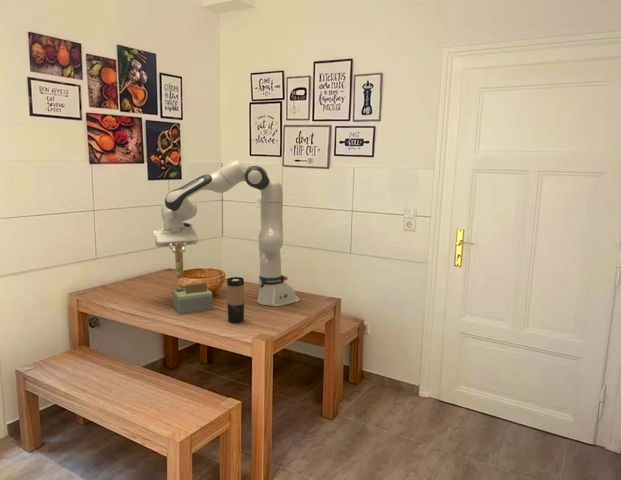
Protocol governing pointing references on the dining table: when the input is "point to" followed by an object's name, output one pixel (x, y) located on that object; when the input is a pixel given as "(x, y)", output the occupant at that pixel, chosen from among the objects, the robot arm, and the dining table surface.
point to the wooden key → (179, 260)
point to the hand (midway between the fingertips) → (179, 251)
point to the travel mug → (235, 299)
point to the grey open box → (193, 304)
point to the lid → (192, 291)
